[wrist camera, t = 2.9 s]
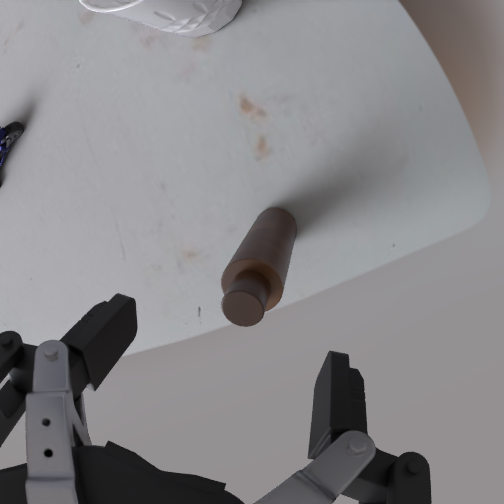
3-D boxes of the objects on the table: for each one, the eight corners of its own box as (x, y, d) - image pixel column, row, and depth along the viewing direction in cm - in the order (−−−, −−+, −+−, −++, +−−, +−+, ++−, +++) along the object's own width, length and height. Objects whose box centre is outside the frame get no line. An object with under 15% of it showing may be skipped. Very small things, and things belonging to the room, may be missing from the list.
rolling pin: (300, 213, 23) (283, 288, 13) (291, 251, 24) (269, 343, 14) (258, 203, 23) (211, 271, 13) (252, 242, 25) (205, 326, 15)
